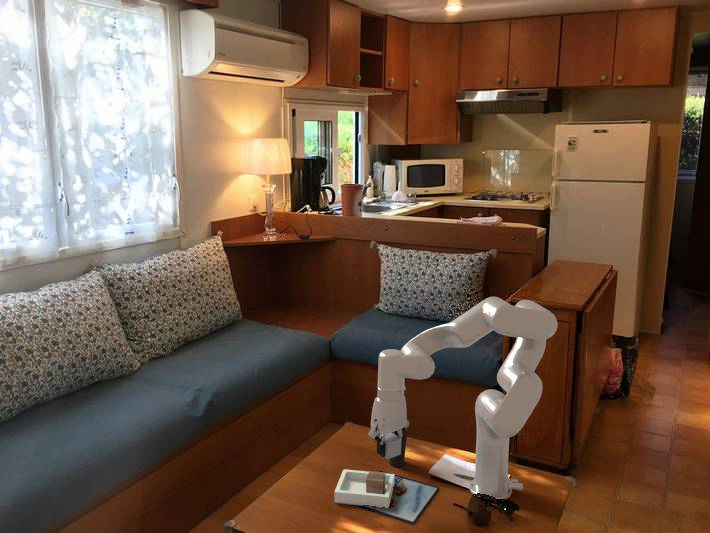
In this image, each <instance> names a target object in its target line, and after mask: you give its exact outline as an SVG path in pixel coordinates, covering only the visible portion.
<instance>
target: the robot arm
mask: <svg viewBox="0 0 710 533" xmlns="http://www.w3.org/2000/svg"><path fill="white" fill-rule="evenodd" d="M558 325H559V324H558V320H557V318H556V316H555V314H554V313H552V312H551V311H550V310H548V309H547V308H545V307H544V306H542V305H540V304H538V303H536V302H534V301H533V300H531V299H522V300H519V301H518V302H517V303H516V304H515V305H512V304H511V303H508V301H505V300H504V299H502V298H501V297H498V296H489V297H487V298H484V300H481V301H480V302H479V303H477V304H476V305H474V306H473V307H471V308H470V309H468V310H467V311H465V312H464V313H463V314H461V315H459V316H458V317H456V318H455V319H453V320H451V321H450V322H447V323H444V324H443V323H442V324H440V325H437V326H433V327H431V328H428V329H426V330H424V331H422V332H420V333H419V334H417V335H416V336H415V337H413V338H411V339H410V340H409V341H408V342H406V343H405V344H404V345H403V346H402V347H401V348H400V350H399V349H395V348H393V349H392V348H390V349H383V350H382V351H381V352H379V354H378V362H377V363H378V364H377V365H378V369H377V370H378V371H377V392H376V393H377V394H376V397H375V398H374V402H373V404H372V405H373V406H372V408H371V409H372V410H371V419H370V430H369V432H368V434H367V436H369V437H370V438H372V439H373V440H374V441H375V442H376V450H377V452H376V454H377V455H379V456H380V457H382V458H385V446H386V445H385V444H384V441H385V437H386V434H388V433H391V432H393V433H394V434H395V435H396V436H398V437H400V438H402V437H403V433H404V431H405V429H406V428H407V426H408V425H409V426H410V423H411V422H410V421H409V419H407V418H408V417H407V414H408V413H407V411H408V410H407V400H406V396H405V391H406V389H407V387H406V385H405V379H411V380H426V379H429V378H431V377H432V376H433V374H434V372H435V370H436V364H435V362H434V361H435V360H434V359H433V358H432V355H433V354H435V353H436V352H438V351H441V350H443V349H448V348H457V349H458V348H459V349H461V348H464V349H465V348H468V347H471V346H472V345H473V344H475V343H476V342H478V341H479V340H480V339H482V338H483V337H485V336H487V335H488V334H490V333H491V332H493V331H494V332H496V333H497V334H499V335H502V336H506V337H512V338H515V342H514V344H513V346H512V348H511V349H510V352H509V353H508V354H507V357H506V358H505V360H504V361H503V363H502V365H501V367H499V370H498V372H497V375H496V380H497V383H498V385H499V386H500V387H501V389H502V390H504V391H505V392H506V394H504V393H503V392H501V391H499V390H497V389H492V388H490V389H486V390H483V391H482V392H480V394H479V395H478V396H477V398H476V401H475V406H474V411H475V412H474V414H475V423H476V444H475V464H474V465H475V466H474V467H475V468H474V478H473V479H471V480H470V482H469V484H468V487H469V491H470V492H471V494H472V495H473V494H477V493H480V494H486V495H489V496H493V497H495V498H496V499H505V500H507V499H509V498H510V497H511V495H512V494H513V490H517V491H523V489H524V486H523V485H524V484H523V483H521V482H519V479H512V478H510V477H509V473H508V469H509V466H508V465H509V451H510V450H509V449H510V438H512V437H514V436H515V435H517V434H518V433H519V432H520V431H521V430H522V428H524V426H525V424H526V422H527V421H528V419H529V418H530V416H531V414H532V413H533V411H534V409H535V408H536V406H537V405H538V403H539V402H540V399H541V396H542V395H543V394H542V393H543V381H542V380H541V378H540V377H539V375H538V374H537V373H536V372H535V371H536V368H537V367H538V365H539V363H540V361H541V359H542V358H543V356H544V353H545V350H546V347H547V346H546V344H547V340H548V339H550V338H551V337H552V336H554V334H556V332H557V329H558ZM380 435H382V436H381V438H380Z"/></svg>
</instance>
